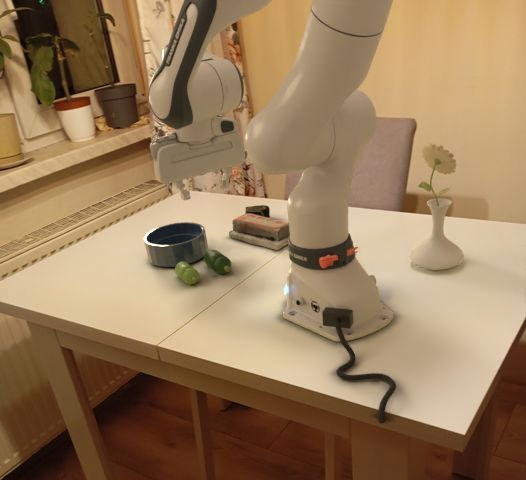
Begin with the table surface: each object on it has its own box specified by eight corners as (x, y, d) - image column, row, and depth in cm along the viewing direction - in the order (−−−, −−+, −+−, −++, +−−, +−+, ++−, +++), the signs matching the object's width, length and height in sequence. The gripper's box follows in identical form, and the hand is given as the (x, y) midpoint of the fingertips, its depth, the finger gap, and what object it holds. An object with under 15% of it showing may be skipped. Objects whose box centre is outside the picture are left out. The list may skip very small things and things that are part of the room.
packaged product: (225, 220, 149) (251, 208, 154) (227, 238, 151) (253, 225, 157) (275, 233, 137) (302, 219, 143) (277, 251, 140) (303, 237, 145)
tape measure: (270, 215, 162) (269, 202, 160) (269, 224, 156) (268, 211, 154) (246, 217, 163) (245, 205, 161) (245, 226, 157) (243, 213, 155)
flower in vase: (474, 267, 121) (485, 146, 108) (425, 279, 119) (431, 158, 106) (441, 246, 132) (447, 134, 118) (396, 256, 130) (397, 144, 116)
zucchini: (237, 274, 132) (235, 258, 129) (221, 280, 130) (218, 263, 128) (218, 261, 139) (215, 245, 137) (202, 266, 138) (199, 250, 135)
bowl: (218, 256, 142) (214, 233, 139) (162, 274, 136) (157, 251, 133) (193, 239, 153) (189, 217, 150) (140, 255, 148) (135, 234, 144)
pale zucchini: (204, 285, 129) (201, 269, 127) (189, 290, 127) (186, 275, 125) (188, 272, 136) (185, 257, 134) (174, 277, 134) (170, 262, 132)
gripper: (153, 141, 111) (167, 209, 119) (244, 120, 119) (252, 185, 126) (142, 136, 116) (156, 202, 124) (230, 116, 124) (238, 179, 131)
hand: (205, 193), depth 125 cm, fingers open, 8 cm apart
